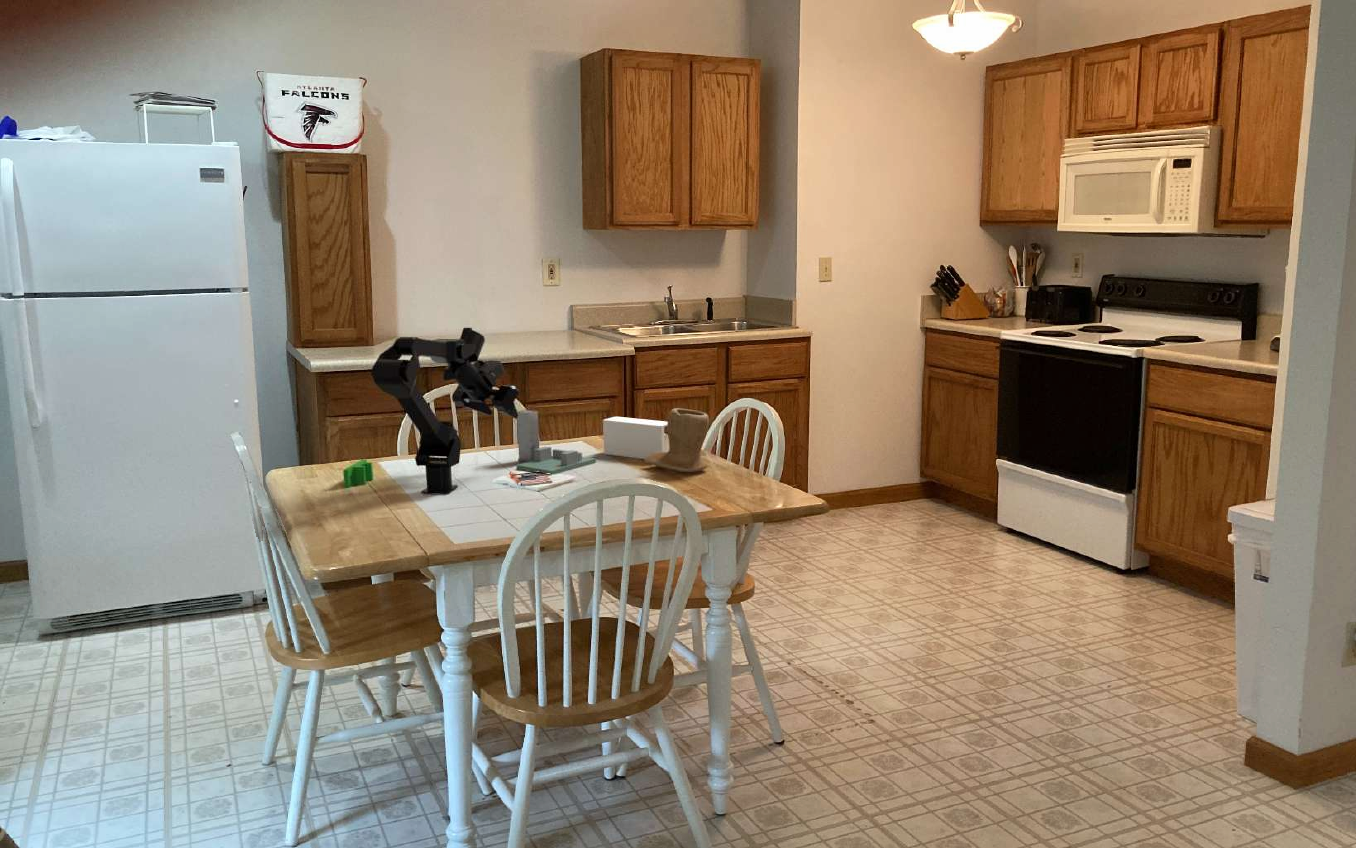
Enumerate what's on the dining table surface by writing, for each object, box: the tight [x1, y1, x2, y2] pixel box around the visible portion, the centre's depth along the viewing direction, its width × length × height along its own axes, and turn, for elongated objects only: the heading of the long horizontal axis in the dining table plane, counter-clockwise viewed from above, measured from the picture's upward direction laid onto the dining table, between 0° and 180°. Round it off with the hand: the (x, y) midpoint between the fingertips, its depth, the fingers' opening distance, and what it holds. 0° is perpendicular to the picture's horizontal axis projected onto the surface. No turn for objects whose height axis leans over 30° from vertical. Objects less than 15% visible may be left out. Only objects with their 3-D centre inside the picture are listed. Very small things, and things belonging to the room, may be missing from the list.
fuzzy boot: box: [643, 407, 710, 473], centre depth 266 cm, size 15×12×15 cm
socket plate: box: [516, 446, 597, 475], centre depth 274 cm, size 16×12×4 cm
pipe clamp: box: [342, 459, 374, 489], centre depth 261 cm, size 11×4×5 cm, turn 173°
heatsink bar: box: [516, 409, 540, 464], centre depth 279 cm, size 3×5×13 cm
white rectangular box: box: [602, 416, 669, 460], centre depth 283 cm, size 20×6×9 cm, turn 56°
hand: (503, 415), depth 271 cm, fingers open, 9 cm apart
